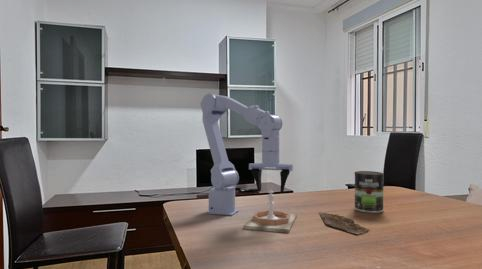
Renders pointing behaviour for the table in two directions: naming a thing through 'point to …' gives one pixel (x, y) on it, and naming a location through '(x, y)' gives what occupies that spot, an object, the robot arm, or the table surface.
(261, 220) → the ring collar
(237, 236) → the table surface
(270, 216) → the chess piece
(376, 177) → the coffee can
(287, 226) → the birch board
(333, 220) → the wooden fragment
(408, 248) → the table surface
